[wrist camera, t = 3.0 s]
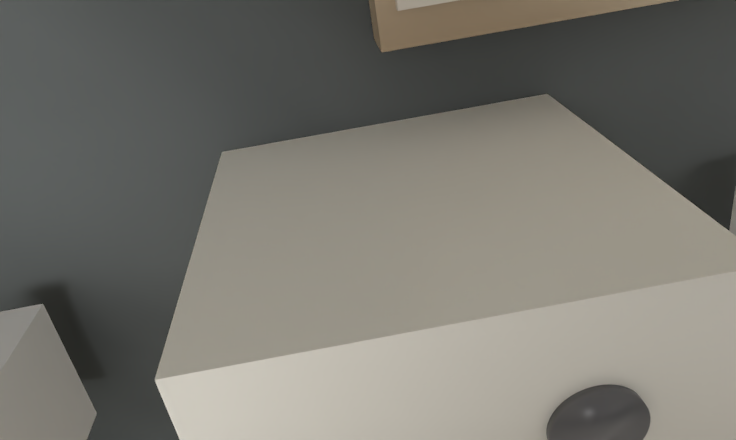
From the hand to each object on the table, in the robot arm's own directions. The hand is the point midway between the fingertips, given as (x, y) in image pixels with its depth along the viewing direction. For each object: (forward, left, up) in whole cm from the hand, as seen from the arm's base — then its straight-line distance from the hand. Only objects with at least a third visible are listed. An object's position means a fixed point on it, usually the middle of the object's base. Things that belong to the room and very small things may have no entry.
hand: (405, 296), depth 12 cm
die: (0, 0, -1) cm, 1 cm away
